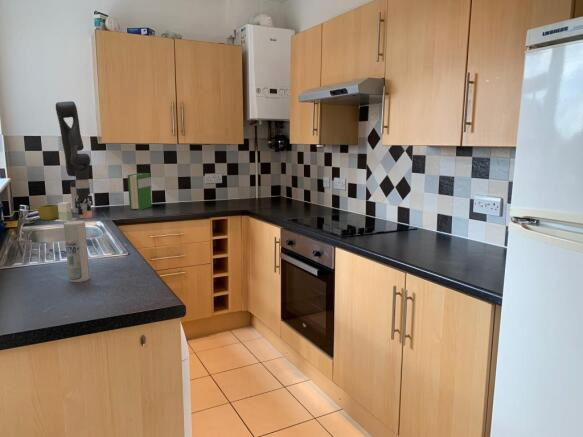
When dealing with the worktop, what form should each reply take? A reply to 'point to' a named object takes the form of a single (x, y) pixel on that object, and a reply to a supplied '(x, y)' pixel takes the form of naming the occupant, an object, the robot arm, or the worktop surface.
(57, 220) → the birch board
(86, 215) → the coral brick
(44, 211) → the flower pot
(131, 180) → the hardback book
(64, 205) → the cream brick
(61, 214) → the sage brick
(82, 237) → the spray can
